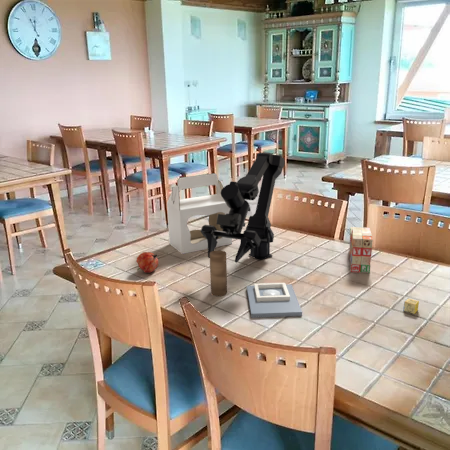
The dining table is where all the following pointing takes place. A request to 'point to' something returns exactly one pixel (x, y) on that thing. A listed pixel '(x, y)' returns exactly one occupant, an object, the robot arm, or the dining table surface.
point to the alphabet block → (411, 306)
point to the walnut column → (218, 273)
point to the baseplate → (273, 300)
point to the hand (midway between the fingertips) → (222, 259)
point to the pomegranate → (147, 262)
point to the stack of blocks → (360, 249)
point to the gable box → (194, 213)
